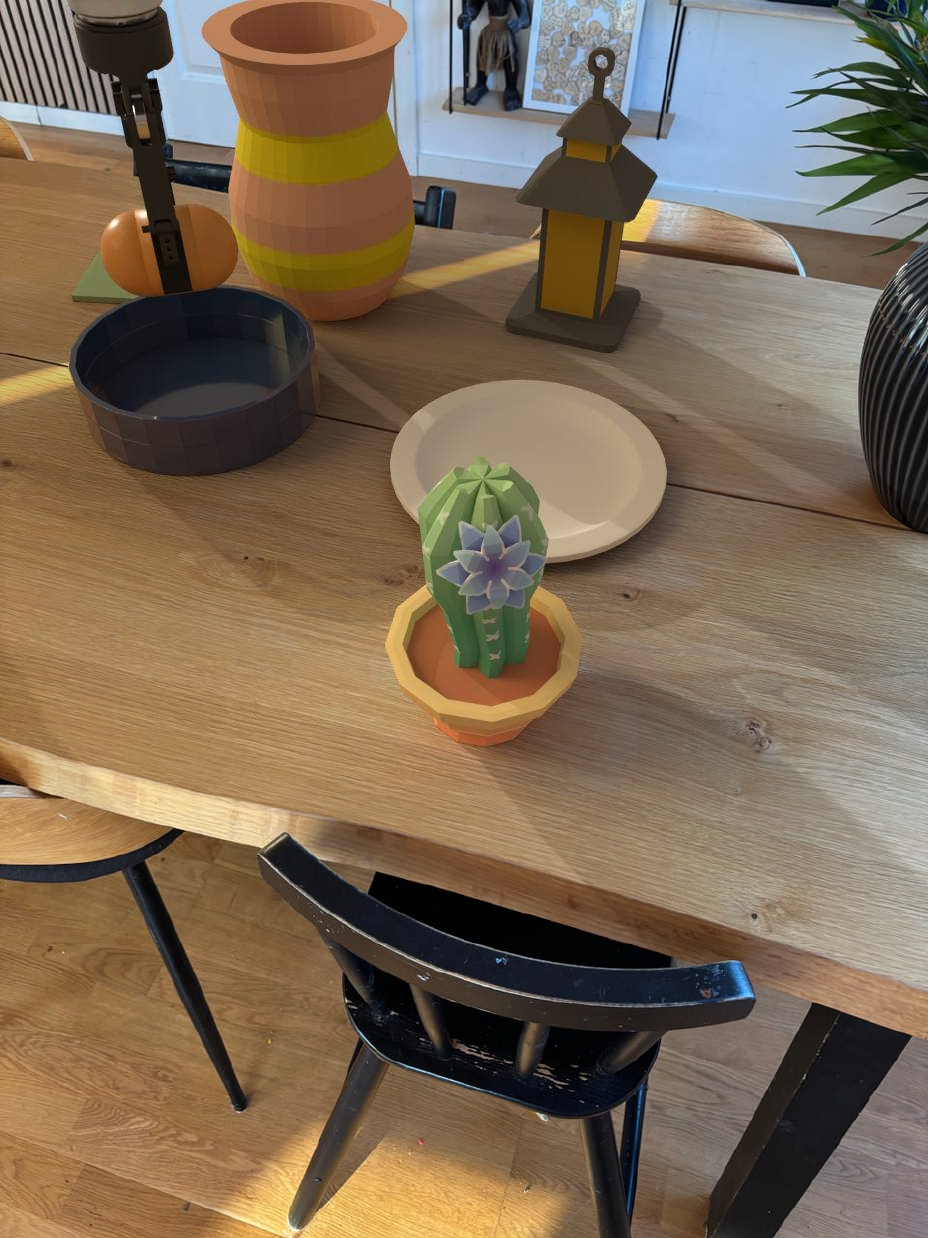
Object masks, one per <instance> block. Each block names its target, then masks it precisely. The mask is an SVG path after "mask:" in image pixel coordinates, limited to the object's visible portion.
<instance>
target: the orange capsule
mask: <svg viewBox="0 0 928 1238" xmlns="http://www.w3.org/2000/svg"><path fill="white" fill-rule="evenodd" d="M174 209H175V214H176V219H178V220H179V225H180V230H181V235H182V240H183V245H184V250H185V255H186V260H187V265H188V270H189V275H190V279H191V284H192V289H193V291H190V292H197V291H205V290H209V289H213V288H215V287H217V286H219V285H223V284H224V283H225V282H226V281H228V279H229V278H230V277H231V276H232V275H233V272H234V271H235V268H236V267H237V263H238V261H239V260H238V259H239V248H238V243H237V239H236V236H235V233H234V231H233V229H232V225H231V224H230V223H229V221H228V220H227V219H226V218H225V217H224V216H223V215H222V214H221V213H220V212H218V211H216V210H215V209H214V208H211V207H209V206H206V205H204V204H199V203H185V204H184V203H183V204H176V205H174ZM144 225H148V217H147V213H146V208H137V209H130V210H127V211H124V212H122V213H120V214H118V215H117V216H115V217H114V218H113V219H111V220H110V222H109V223H108V224H107V225H106V227H105V228H104V231H103V233H102V236H101V240H100V249H99V251H101V258H102V261H103V265H104V267H105V269H106V271H107V273H108V275H109V276H110V277H111V279H112V280H113V281H114V282H115V283H116V284H117V285H118V286H119V287H120V288H122V289H124V290H125V291H127V292H129V293H131V294H134V295H137V296H142V297H157V296H165V295H164V292H163V287H162V283H161V278H160V274H159V270H158V265H157V261H156V256H155V252H154V248H153V243H152V239H151V235H150V233H143V232H142V228H141V226H144ZM182 293H189V292H182ZM174 294H181V293H174ZM166 295H173V294H166Z"/></svg>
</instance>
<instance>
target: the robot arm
mask: <svg viewBox="0 0 928 1238" xmlns="http://www.w3.org/2000/svg"><path fill="white" fill-rule="evenodd" d="M66 2H67V6H68V8H69V9H71V11H72V12H74V13H75V14H74V16H73V18H72V24H73V27H74V31H75V36H76V39H77V44H78V48H79V52H80V55H81V60H82V61H83V64H84V65H85V66H86V67H87V68H88V69H90V70H91V71H93V72H95V73H99V74H101V75H106V76H107V75H111V76H114V77H116V78H117V79H118V80H114V81H110V86H111V90H112V93H111V94H112V100H113V104H114V108H115V111H116V113H117V114H118V115H119V117H120V122H121V125H122V126H121V127H122V131H123V135H124V136H123V137H124V140H125V143H126V146H127V147H128V148H129V149H131V150H132V153H133V158H134V162H135V167H136V171H137V178H138V181H139V186H140V189H141V194H142V199H143V204H144V207H145V208H146V213H147V217H148V225H144V226H141V228H142V232H143V233H150V235H151V239H152V243H153V248H154V252H155V256H156V261H157V265H158V270H159V274H160V278H161V283H162V287H163V292H164V295H166V294H174V293H182V292H190V291H193V289H192V284H191V279H190V275H189V270H188V265H187V260H186V255H185V250H184V245H183V240H182V235H181V230H180V225H179V220H178V219H176V214H175V209H174V205H177V204H176V200H175V195H174V191H173V185H172V181H171V180H169V179H174V178H175V179H176V178H177V174H176V169H175V165H170V166H169V165H167V164H166V160H167V157H166V154H165V152H164V150H163V149H164V148H163V147H164V146H165V145H166V143H167V136H166V131H165V126H164V121H163V116H162V113H163V109H164V107H163V106H164V105H163V101H162V97H161V96H162V95H161V91H160V87H159V82H158V78H157V77H151V78H149V76H148V75H149V74H150V73H151V72H153V71H159V70H161V69H164V68H165V67H166V66H168V65H169V64H170V63H171V62H172V60H173V58H174V54H175V52H174V46H173V40H172V34H171V30H170V24H169V18H168V14H167V12H166V11H165V10H164V8H163V7H161V5H162V3H163V2H164V0H66ZM145 208H144V209H145Z"/></svg>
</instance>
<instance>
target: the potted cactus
mask: <svg viewBox="0 0 928 1238" xmlns="http://www.w3.org/2000/svg"><path fill="white" fill-rule="evenodd" d="M539 504H540V500H539V498H538V496H537V494H536V492H535V490H534V488H533V486H532V485H531V484H530V483H528V482H527V481H526V480H525V479H524V478H523V477H522V476H521V475H520V474H518V473H517V472H516V471H515V470H514V469H513V468H512V467H511V466H510V465H508V464H507V463H502V464H499V465H497V466H496V467H495V468H494V469H493V470H492V469H491V466H490V464H489V462H488V461H487V460H486V459H485V458H484V457H483V456H477V457H476V458H475V459H474V461H473V463H472V464H471V466H470V467H469V469H468V470H467V469H465V468H462V467H455V468H454V469H453V470H452V471H451V472H450V473H448V474H447V475H446V476H445V477H444V478H443V479H442V480H441V481H440V482H439V483H438V484H437V485H436V486H435V487H434V488H433V489H432V490H431V491H430V493H429V494H428V495H427V496H426V498H425V499H424V500H423V502H422V503H421V504H420V506H419V507H418V516H419V524H418V525H419V533H420V541H421V551H422V559H423V568H424V578H425V584H424V585H423V586H422V587H420V588H419V589H418V590H417V591H415V592H414V593H413V594H412V595H411V596H409V597H408V598H407V599H405V600H404V601H403V602H402V603H400V604H399V605H398V606H397V607H396V609H395V612H394V615H393V618H392V620H391V625H390V627H389V630H388V633H387V636H386V640H385V643H384V648H385V650H386V653H387V656H388V658H389V661H390V663H391V666H392V669H393V672H394V674H395V677H396V679H397V682H398V685H399V687H400V689H401V691H402V694H403V695H404V696H405V697H407V698H408V699H409V700H411V701H412V702H413V703H415V704H416V705H417V706H419V707H420V708H421V710H422V711H423V712H425V713H426V714H428V715H429V716H430V717H431V718H432V719H433V723H434V724H435V727H436V728H438V729H439V730H440V731H442V732H443V733H444V734H446V735H447V736H448V737H450V738H451V739H453V740H454V742H457V743H461V744H465V745H471V746H478V747H483V748H488V747H492V746H494V745H499V744H502V743H506V742H508V741H513V740H514V739H515V738H516V737H518V735H520V733H521V732H523V731H524V729H525V728H527V727H528V726H529V725H530V724H531V723H532V721H533V720H534V719H536V718H540V717H542V715H543V714H544V713H545V712H547V710H548V709H550V708H551V706H552V705H554V703H556V701H558V700H559V699H560V698H561V696H563V695H564V694H565V692H567V691H568V690H569V689H570V688H571V687H572V685H573V684H574V682H575V680H576V678H577V676H578V670H579V664H580V659H581V658H580V657H581V651H582V644H583V637H584V636H583V634H582V632H581V630H580V629H579V627H578V625H577V623H576V622H575V619H574V618H573V616H572V614H571V613H570V610H569V609H568V607H567V605H566V603H565V602H564V600H563V599H561V598H560V597H558V596H556V595H555V594H554V593H552V592H551V591H549V590H546V589H545V588H544V587H542V586H540V584H541V582H542V580H543V575H544V571H545V565H546V564H547V563H546V562H547V557H546V554H547V548H548V543H549V538H548V536H547V534H546V531H545V529H544V527H543V525H542V522H541V520H540V518H539V517H538V511H539Z"/></svg>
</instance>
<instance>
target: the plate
mask: <svg viewBox="0 0 928 1238" xmlns="http://www.w3.org/2000/svg"><path fill="white" fill-rule="evenodd" d="M390 452H391V453H390V459H389V471H390V480H391V484H392V487H393V490H394V492H395V496H396V498H397V499H398V501H399V502H400V504H401V506H402V508H403V509H404V510H405V512H406V513H407V514H408V515H409V516H410V517H411V518H412V520H414V521H415V522H416V524H418V525H419V516H418V507H419V506H420V504H421V503H422V502H423V500H424V499H425V498H426V496H427V495H428V494H429V493H430V491H431V490H432V489H433V488H434V487H435V486H436V485H437V484H438V483H439V482H440V481H441V480H442V479H443V478H444V477H445V476H446V475H447V474H448V473H450V472H451V471H452V470H453V469H454V468H455V467H462V468H465V469H467V470H468V469H469V467H470V466H471V464H472V463H473V461H474V459H475V458H476V457H477V456H483V457H484V458H485V459H486V460H487V461H488V462H489V464H490V466H491V469H492V470H493V469H494V468H495V467H496V466H497V465H499V464H502V463H507V464H508V465H510V466H511V467H512V468H513V469H514V470H515V471H516V472H517V473H518V474H520V475H521V476H522V477H523V478H524V479H525V480H526V481H527V482H528V483H530V484H531V485H532V486H533V488H534V490H535V492H536V494H537V496H538V498H539V500H540V504H539V511H538V517H539V518H540V520H541V522H542V525H543V527H544V529H545V531H546V534H547V536H548V538H549V543H548V548H547V554H546V557H547V562H546V563H545V564H553V563H554V564H555V563H564V562H565V563H566V562H570V561H575V560H580V559H586V558H588V557H592V556H595V555H597V554H601V553H604V552H607V551H609V550H611V549H613V548H615V547H617V546H619V545H621V544H623V543H625V542H627V541H628V540H629V539H631V538H632V537H634V536H635V535H636V534H638V533H639V532H641V531H642V529H644V527H645V526H646V525H648V523H649V522H650V521H651V520H652V519H653V518H654V516H655V515H656V513H657V511H658V510H659V508H660V506H661V504H662V502H663V501H662V500H663V498H664V495H665V492H666V489H667V476H668V469H667V464H666V458H665V455H664V452H663V451H662V448H661V445H660V443H659V441H657V439H656V438H655V436H654V435H653V433H652V432H651V430H650V429H649V428H648V427H647V426H646V425H645V424H644V422H642V420H640V419H639V418H637V417H636V416H635V415H634V414H632V413H631V412H630V411H628V409H626V408H624V407H623V406H621V405H619V404H617V403H616V402H614V401H613V400H611V399H608V398H606V397H604V396H602V395H599V394H597V393H595V392H592V391H590V390H586V389H583V388H580V387H577V386H574V385H568V384H563V383H559V382H553V381H547V380H546V381H545V380H538V379H537V380H535V379H508V380H507V379H506V380H494V381H488V382H482V383H476V384H473V385H470V386H465V387H461V388H459V389H456V390H453V391H451V392H449V393H446V394H443V395H442V396H440V397H438V398H436V399H434V400H432V401H430V402H429V403H427V404H426V405H425V406H423V407H421V408H420V409H419V410H418V411H416V412H415V413H414V414H413V415H412V416H411V417H410V418H409V419H408V420H407V421H406V422H405V423H404V425H403V426H402V428H401V429H400V431H399V432H398V434H397V436H396V438H395V440H394V443H393V445H392V448H391V451H390Z"/></svg>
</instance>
